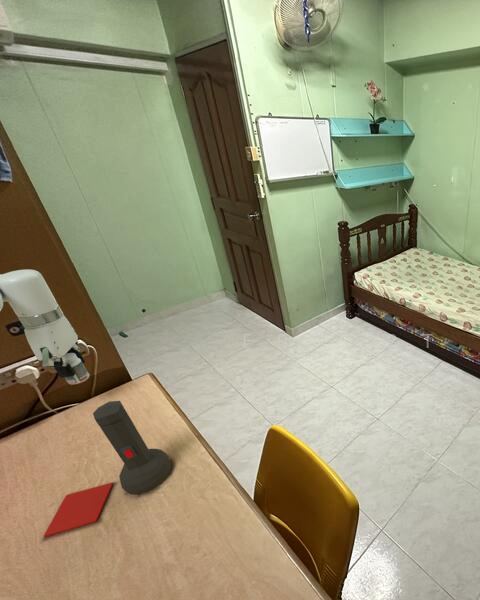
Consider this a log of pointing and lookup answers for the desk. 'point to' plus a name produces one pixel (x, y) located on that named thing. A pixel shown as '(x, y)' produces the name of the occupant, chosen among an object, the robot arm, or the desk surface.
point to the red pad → (79, 509)
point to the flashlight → (132, 450)
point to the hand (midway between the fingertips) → (73, 369)
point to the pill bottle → (75, 369)
